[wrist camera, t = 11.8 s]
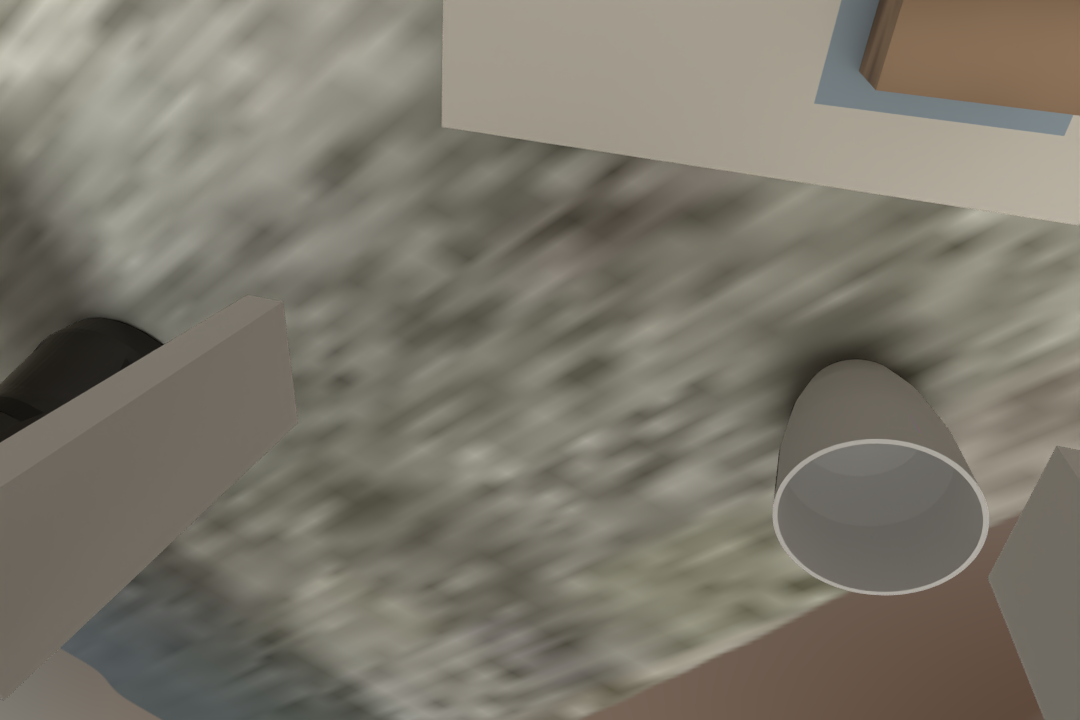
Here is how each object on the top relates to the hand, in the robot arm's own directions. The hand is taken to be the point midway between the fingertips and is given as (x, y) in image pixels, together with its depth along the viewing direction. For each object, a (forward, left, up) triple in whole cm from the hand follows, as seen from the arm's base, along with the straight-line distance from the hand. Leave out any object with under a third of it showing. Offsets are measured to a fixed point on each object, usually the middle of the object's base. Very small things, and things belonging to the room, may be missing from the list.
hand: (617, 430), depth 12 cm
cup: (+10, -12, -25) cm, 30 cm away
